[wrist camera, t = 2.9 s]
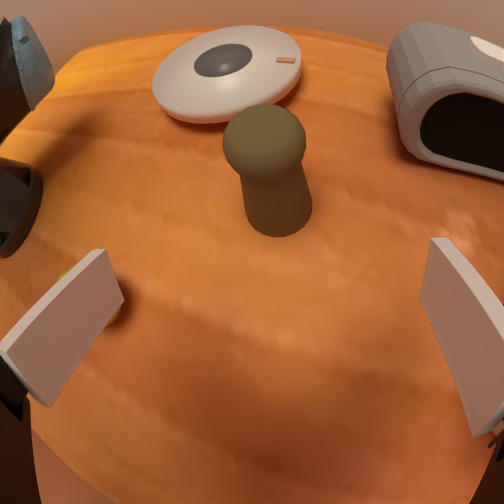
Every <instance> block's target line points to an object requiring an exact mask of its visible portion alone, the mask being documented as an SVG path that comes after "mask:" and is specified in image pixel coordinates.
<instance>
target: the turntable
mask: <svg viewBox="0 0 504 504" xmlns="http://www.w3.org/2000/svg"><path fill="white" fill-rule="evenodd" d="M301 70H302V67H301V54H300V49H299V46H298V45H297V43H296V42H295V41H294V40H293V39H292V38H291V37H290V36H288V35H287V34H285V33H283V32H281V31H278V30H276V29H272V28H268V27H262V26H234V27H227V28H222V29H218V30H214V31H211V32H208V33H205V34H203V35H200V36H198V37H196V38H194V39H192V40H190V41H188V42H186V43H184V44H183V45H181V46H180V47H178V48H177V49H175V50H174V51H173V52H172V53H171V54H169V55H168V56H167V57H166V58H165V59H164V60H163V62H162V63H161V64H160V65H159V67H158V68H157V70H156V72H155V74H154V76H153V80H152V91H153V94H154V96H155V98H156V100H157V101H158V103H159V104H160V106H161V108H162V109H163V110H164V111H165V112H166V113H167V114H168V115H169V116H171V117H173V118H175V119H178V120H180V121H184V122H189V123H198V124H210V123H221V122H226V121H230V120H231V119H232V118H233V117H234V116H235V115H236V114H237V113H238V112H240V111H242V110H243V109H245V108H248V107H251V106H254V105H260V104H271V105H273V104H275V103H276V102H278V101H279V100H281V99H282V98H283V97H285V96H286V95H287V94H288V93H289V92H290V91H291V90H292V89H293V88H294V87H295V85H296V84H297V82H298V80H299V78H300V76H301Z"/></svg>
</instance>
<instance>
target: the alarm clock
mask: <svg viewBox="0 0 504 504" xmlns="http://www.w3.org/2000/svg"><path fill="white" fill-rule="evenodd" d="M386 69H387V74H388V78H389V82H390V87H391V91H392V96H393V100H394V105H395V110H396V115H397V121H398V126H399V132H400V138H401V141H402V143H403V144H404V146H405V147H406V149H407V151H408V152H410V153H411V154H413V155H414V156H415V157H417V158H418V159H420V160H423V161H426V162H429V163H434V164H437V165H440V166H444V167H448V168H453V169H457V170H462V171H466V172H470V173H474V174H478V175H482V176H486V177H490V178H494V179H497V180H501V181H504V47H502V46H499V45H497V44H495V43H493V42H490V41H488V40H486V39H483V38H481V37H479V36H476V35H474V34H471V33H468V32H466V31H463V30H460V29H457V28H454V27H450V26H446V25H440V24H436V23H430V22H420V23H416V24H413V25H409V26H407V27H406V28H404V29H403V30H401V31H400V32H399V33H397V35H396V36H395V38H394V40H393V41H392V43H391V44H390V47H389V50H388V54H387V61H386Z"/></svg>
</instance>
